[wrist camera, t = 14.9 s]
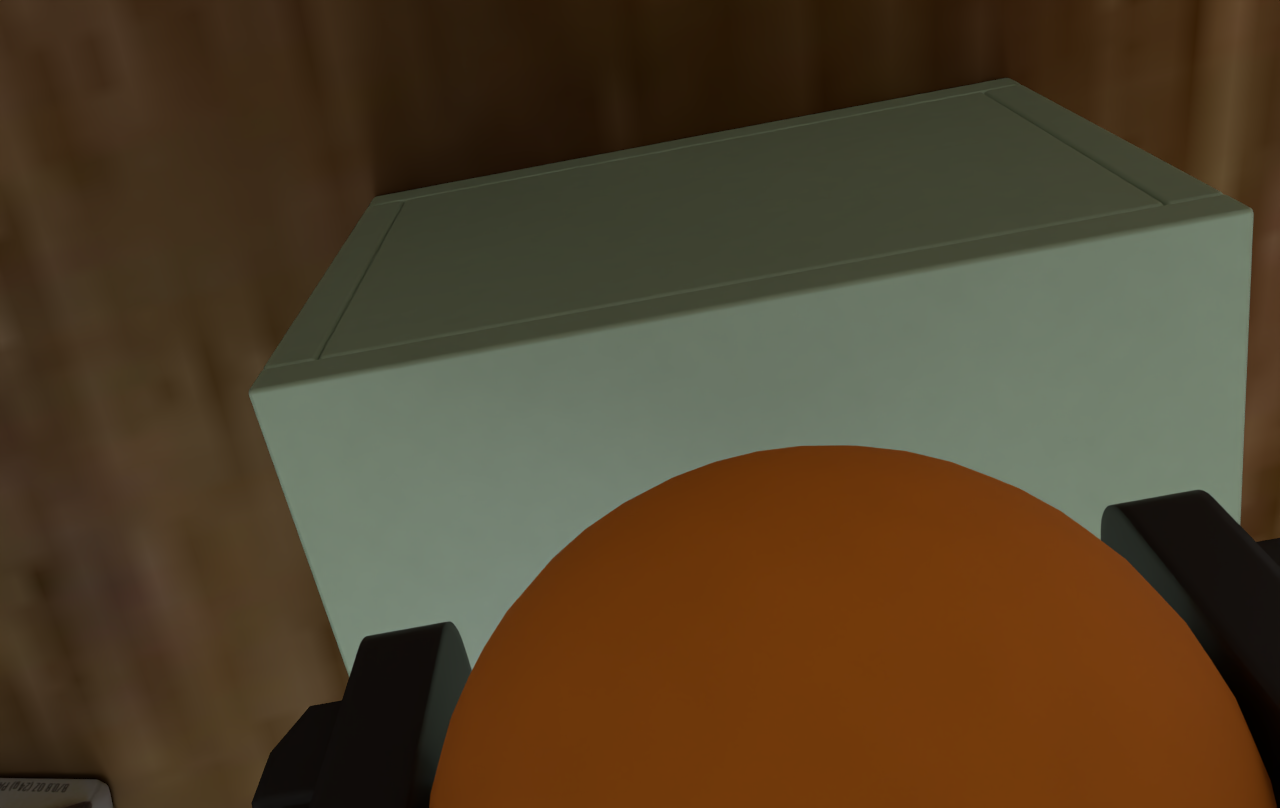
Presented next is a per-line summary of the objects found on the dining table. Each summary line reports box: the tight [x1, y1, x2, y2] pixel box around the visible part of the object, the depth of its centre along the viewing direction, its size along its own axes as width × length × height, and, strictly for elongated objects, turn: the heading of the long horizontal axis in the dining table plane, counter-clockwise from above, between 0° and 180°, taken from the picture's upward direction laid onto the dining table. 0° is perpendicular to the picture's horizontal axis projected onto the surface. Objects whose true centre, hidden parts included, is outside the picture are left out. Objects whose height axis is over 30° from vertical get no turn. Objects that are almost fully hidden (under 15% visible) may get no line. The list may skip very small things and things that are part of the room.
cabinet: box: [249, 78, 1253, 677], centre depth 24 cm, size 16×14×10 cm
